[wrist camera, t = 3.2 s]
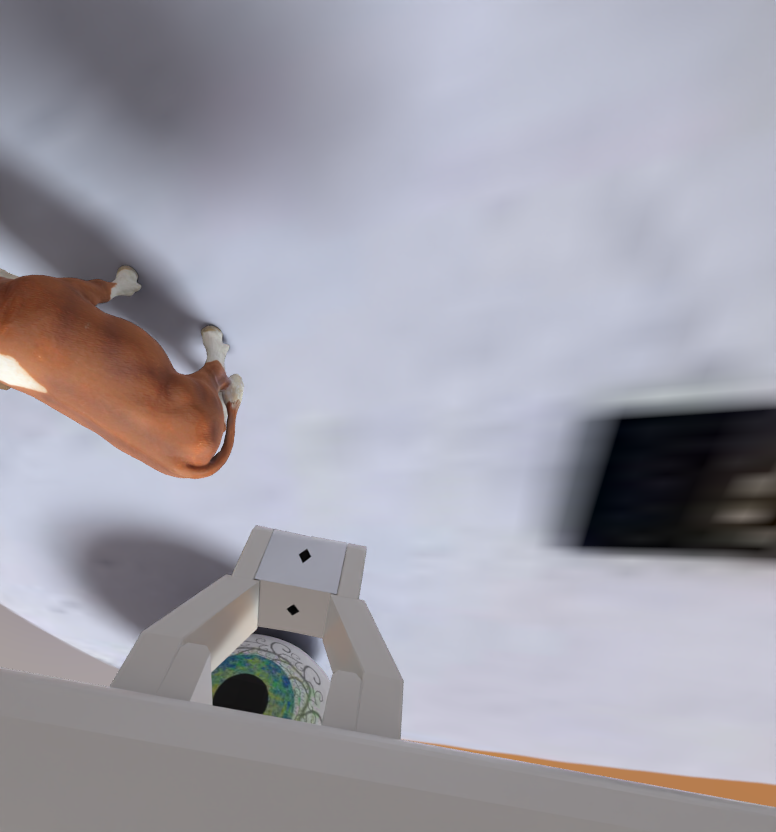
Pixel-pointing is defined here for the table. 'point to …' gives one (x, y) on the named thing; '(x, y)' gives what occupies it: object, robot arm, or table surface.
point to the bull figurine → (116, 373)
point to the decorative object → (271, 681)
